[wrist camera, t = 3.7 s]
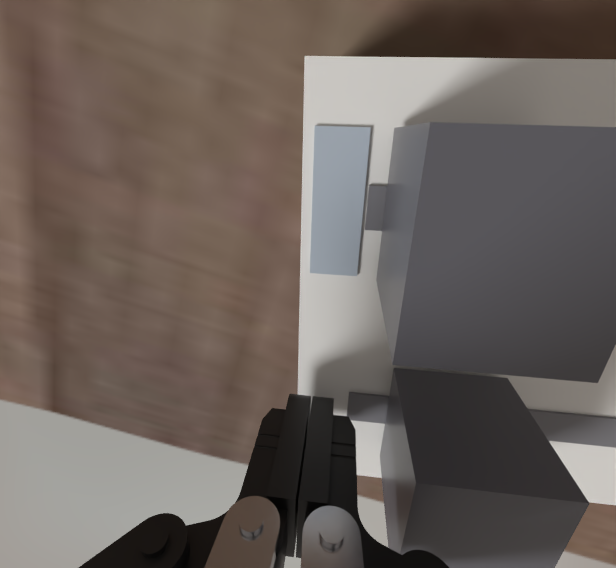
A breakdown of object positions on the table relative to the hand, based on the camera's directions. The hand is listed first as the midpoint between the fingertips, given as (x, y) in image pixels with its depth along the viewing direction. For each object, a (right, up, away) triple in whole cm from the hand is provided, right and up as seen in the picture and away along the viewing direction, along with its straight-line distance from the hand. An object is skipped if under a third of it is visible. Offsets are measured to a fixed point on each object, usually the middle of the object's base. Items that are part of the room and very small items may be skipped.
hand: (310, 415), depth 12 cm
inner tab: (+4, +6, -3) cm, 8 cm away
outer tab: (+4, 0, 0) cm, 4 cm away
